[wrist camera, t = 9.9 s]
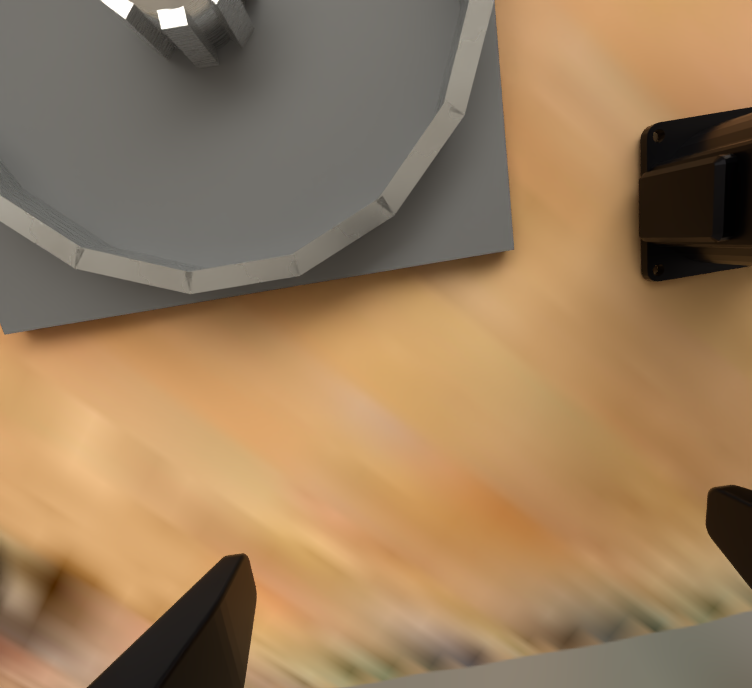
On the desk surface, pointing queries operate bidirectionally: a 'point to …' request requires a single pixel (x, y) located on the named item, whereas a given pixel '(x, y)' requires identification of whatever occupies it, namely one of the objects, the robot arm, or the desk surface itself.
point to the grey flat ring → (92, 254)
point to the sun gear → (186, 25)
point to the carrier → (240, 147)
